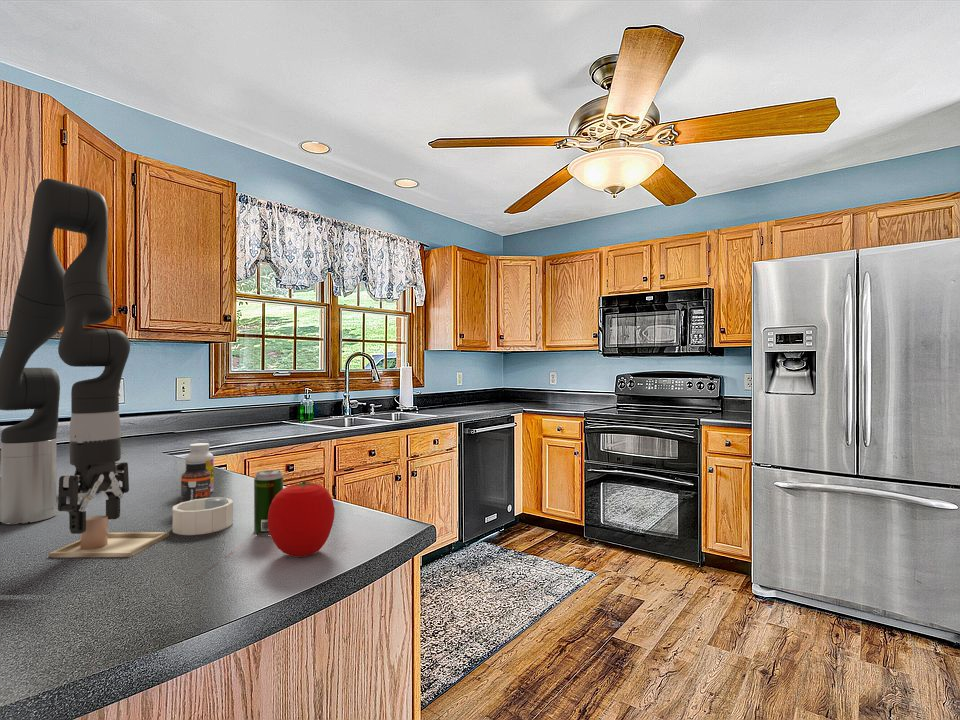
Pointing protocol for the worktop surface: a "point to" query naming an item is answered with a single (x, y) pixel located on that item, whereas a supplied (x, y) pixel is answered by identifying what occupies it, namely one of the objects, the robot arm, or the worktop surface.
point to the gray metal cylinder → (215, 502)
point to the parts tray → (113, 545)
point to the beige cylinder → (95, 533)
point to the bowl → (201, 517)
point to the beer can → (265, 497)
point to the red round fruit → (301, 518)
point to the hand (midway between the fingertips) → (96, 525)
